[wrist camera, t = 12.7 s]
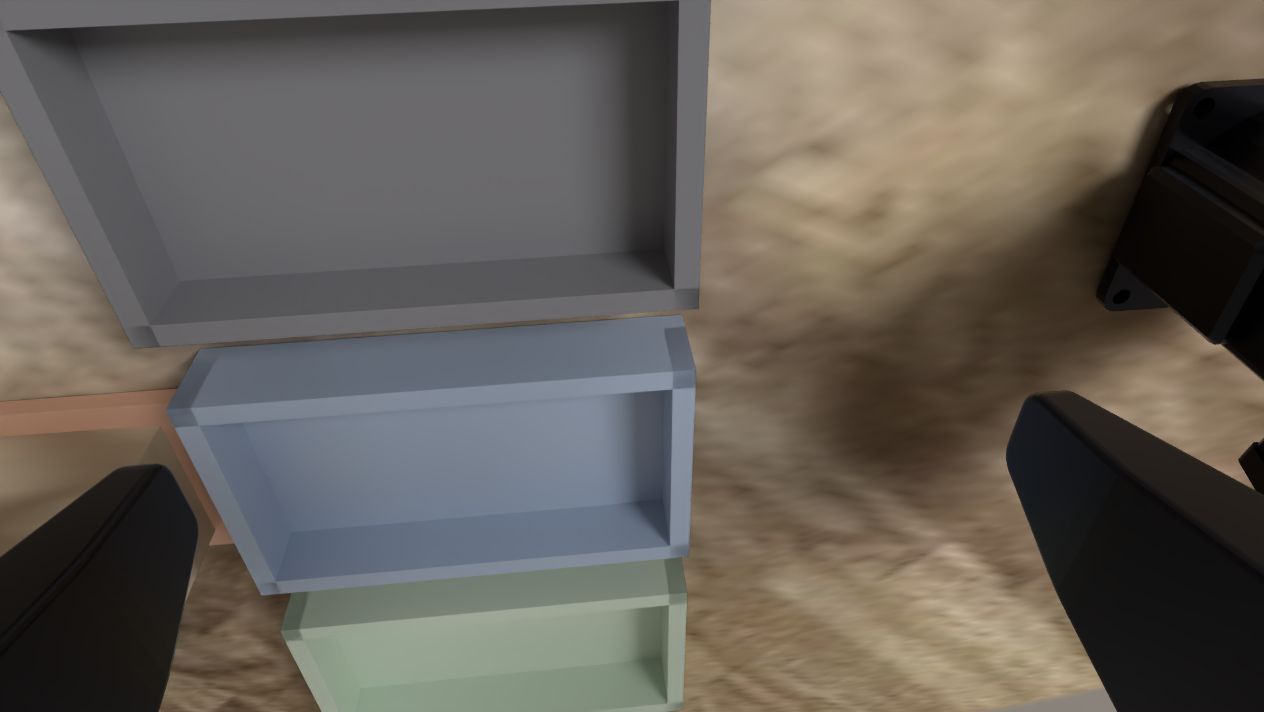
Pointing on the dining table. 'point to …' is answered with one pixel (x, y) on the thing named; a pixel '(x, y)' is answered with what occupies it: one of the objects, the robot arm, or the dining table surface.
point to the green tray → (498, 642)
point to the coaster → (108, 415)
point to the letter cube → (80, 476)
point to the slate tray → (446, 451)
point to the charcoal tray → (368, 158)
